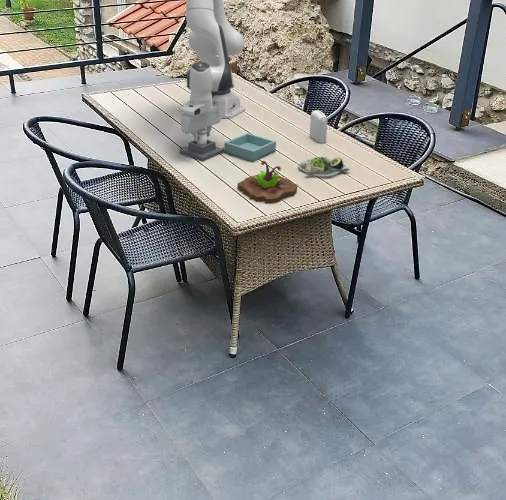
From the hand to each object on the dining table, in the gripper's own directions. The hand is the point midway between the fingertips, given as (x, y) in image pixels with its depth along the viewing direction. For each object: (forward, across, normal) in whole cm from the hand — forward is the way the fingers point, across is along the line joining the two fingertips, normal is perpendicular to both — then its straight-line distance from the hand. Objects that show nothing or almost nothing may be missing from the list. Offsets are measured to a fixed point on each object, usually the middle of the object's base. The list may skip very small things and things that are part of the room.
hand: (201, 138), depth 266 cm
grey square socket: (+6, 0, 0) cm, 6 cm away
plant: (+7, +11, +42) cm, 44 cm away
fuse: (+6, 0, 0) cm, 6 cm away
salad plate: (+7, -19, +47) cm, 51 cm away
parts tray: (+6, -14, +14) cm, 21 cm away
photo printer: (+6, -45, +27) cm, 53 cm away
